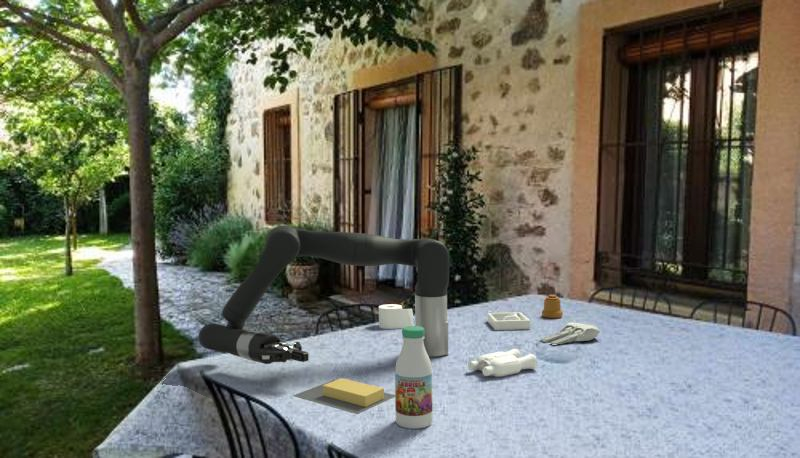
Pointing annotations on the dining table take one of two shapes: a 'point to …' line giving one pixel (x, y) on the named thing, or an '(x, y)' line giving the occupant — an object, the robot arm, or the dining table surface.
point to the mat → (317, 396)
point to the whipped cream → (511, 317)
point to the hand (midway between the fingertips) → (306, 357)
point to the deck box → (353, 392)
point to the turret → (573, 334)
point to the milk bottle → (413, 381)
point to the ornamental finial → (552, 307)
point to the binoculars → (503, 363)
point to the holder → (508, 321)
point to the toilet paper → (394, 316)
